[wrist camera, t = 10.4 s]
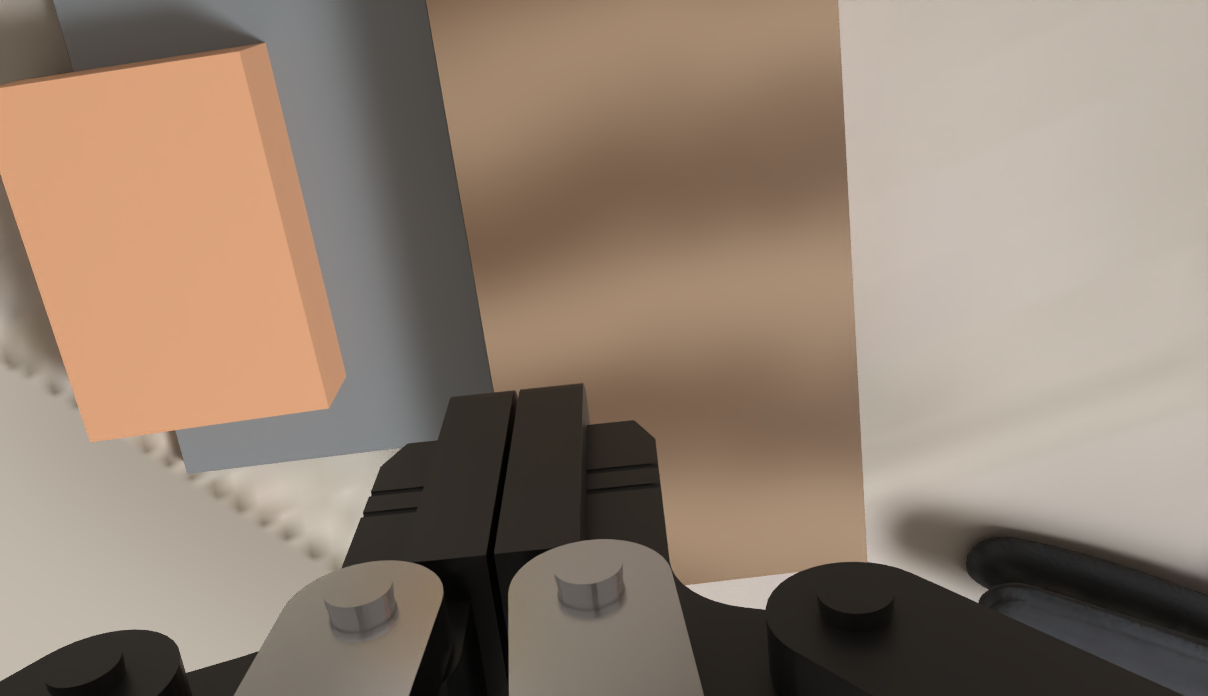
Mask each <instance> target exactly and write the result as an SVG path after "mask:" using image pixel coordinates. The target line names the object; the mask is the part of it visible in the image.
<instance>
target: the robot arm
mask: <svg viewBox="0 0 1208 696" xmlns="http://www.w3.org/2000/svg"><path fill="white" fill-rule="evenodd" d="M363 515H364V517H362V518H361V519H360V522H359V524H358V527H357V530H356V532H355V535H354V537H353V540H352V543H351V545H350V548H349V550H348V553H347V555H346V558H345V561H344V563H343V566H342V568H341V569H339V570H336V571H334V572H331V573H329V574H327V575H325V576H322V577H320V578H319V579H316V580H315V581H313V582H312V583H310V584H309V585H307V586H305V587H304V588H303V589H301V590H300V591H299V592H298V593H296V594H295V595H294V596H293V597H292V598H291V599H290V600H289V601H288V603H287V604H286V606H285V607H284V608H283V610H282V612H281V613H280V615H279V617H278V619H277V620H276V622H275V624H274V626H273V627H272V629H271V631H270V633H269V634H268V636H267V638H266V640H265V641H264V643H263V645H262V647H261V649H260V650H259V651H258V652H255V653H252V654H249V655H246V656H243V657H240V658H236V659H233V660H229V661H226V662H222V663H219V664H216V665H212V666H209V667H205V668H202V669H199V670H195V671H192V672H188V673H186V672H185V669H184V665H183V662H182V659H181V656H180V652H179V648H178V646H177V645H176V644H175V642H174V641H173V640H172V639H170V638H169V637H168V636H166V635H163V634H161V633H158V632H153V631H148V630H121V631H115V632H109V633H104V634H100V635H96V636H92V637H89V638H86V639H83V640H80V641H77V642H74V643H72V644H69V645H67V646H65V647H62V648H60V649H58V650H56V651H54V652H52V653H50V654H48V655H46V656H45V657H43V658H41V659H39V660H38V661H36V662H34V663H32V664H30V665H29V666H27V667H25V668H23V669H22V670H20V671H18V672H16V673H14V674H13V675H11V676H9V677H7V678H6V679H4V680H2V681H0V696H1184V695H1182V694H1180V693H1178V692H1175V691H1173V690H1171V689H1169V688H1166V687H1164V686H1162V685H1160V684H1157V683H1155V682H1153V681H1151V680H1149V679H1146V678H1144V677H1142V676H1140V675H1137V674H1135V673H1133V672H1131V671H1129V670H1126V669H1124V668H1122V667H1120V666H1117V665H1115V664H1113V663H1111V662H1108V661H1106V660H1104V659H1102V658H1100V657H1097V656H1095V655H1093V654H1091V653H1088V652H1086V651H1084V650H1082V649H1079V648H1077V647H1075V646H1073V645H1071V644H1068V643H1066V642H1064V641H1062V640H1059V639H1057V638H1055V637H1053V636H1050V635H1048V634H1046V633H1044V632H1042V631H1039V630H1037V629H1035V628H1033V627H1030V626H1028V625H1026V624H1024V623H1021V622H1019V621H1017V620H1015V619H1013V618H1010V617H1008V616H1006V615H1004V614H1001V613H999V612H997V611H995V610H993V609H990V608H988V607H986V606H984V605H981V604H979V603H977V602H975V601H972V600H970V599H968V598H966V597H964V596H961V595H959V594H957V593H955V592H952V591H950V590H948V589H946V588H943V587H941V586H939V585H937V584H935V583H932V582H930V581H928V580H926V579H923V578H921V577H919V576H917V575H914V574H912V573H910V572H907V571H904V570H902V569H899V568H895V567H891V566H887V565H883V564H876V563H869V562H838V563H830V564H824V565H820V566H815V567H812V568H809V569H806V570H803V571H800V572H798V573H796V574H794V575H793V576H791V577H789V578H787V579H786V580H785V581H783V582H782V583H780V584H779V585H778V587H777V588H776V589H775V590H774V591H773V592H772V594H771V595H770V597H769V599H768V602H767V605H766V610H762V609H753V608H744V607H738V606H731V605H727V604H723V603H719V602H715V601H713V600H710V599H707V598H705V597H702V596H700V595H699V594H697V593H695V592H693V591H691V590H690V589H689V588H687V587H686V586H685V585H683V584H682V583H681V582H680V580H679V579H678V578H677V577H676V576H675V574H674V572H673V570H672V568H671V564H670V559H669V550H668V542H667V533H666V525H665V516H664V508H663V500H662V491H661V483H660V474H659V466H658V457H657V449H656V440H655V438H654V437H653V436H652V435H651V434H649V433H648V432H647V431H646V430H645V429H644V428H643V427H641V426H640V425H639V424H638V423H637V422H636V421H635V420H630V421H620V422H610V423H601V424H591V425H590V419H589V411H588V403H587V396H586V390H585V385H584V383H578V384H568V385H559V386H549V387H539V388H530V389H520V391H519V396H518V395H517V392H516V391H515V390H512V391H502V392H493V393H483V394H473V395H464V396H454V397H451V398H450V400H449V403H448V407H447V410H446V413H445V417H444V420H443V424H442V427H441V430H440V434H439V437H438V440H436V441H426V442H417V443H408V444H406V445H405V446H404V447H403V448H402V449H401V450H399V451H398V452H397V453H396V454H395V455H394V456H393V457H391V458H390V459H389V460H388V461H387V462H386V463H385V464H383V465H382V466H381V467H380V470H379V473H378V475H377V478H376V480H375V483H374V486H373V488H372V491H371V497H369V498H368V501H367V504H366V506H365V509H364V511H363Z"/></svg>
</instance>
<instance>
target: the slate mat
mask: <svg viewBox="0 0 1208 696" xmlns="http://www.w3.org/2000/svg"><path fill="white" fill-rule="evenodd" d="M53 2H54V6H55V9H56V13H57V16H58V20H59V23H60V27H61V30H62V34H63V37H64V41H65V44H66V48H67V52H68V55H69V59H70V62H71V66H72V69H73V72H77V71H83V70H90V69H96V68H103V67H109V66H116V65H122V64H129V63H135V62H142V61H148V60H155V59H161V58H168V57H174V56H181V55H187V54H194V53H200V52H207V51H213V50H220V49H227V48H233V47H240V46H246V45H253V44H259V43H266V47H267V51H268V55H269V59H270V63H271V67H272V71H273V75H274V80H275V84H276V88H277V92H278V96H279V100H280V104H281V108H282V112H283V117H284V121H285V125H286V129H287V133H288V137H289V141H290V145H291V150H292V154H293V158H294V162H295V166H296V170H297V174H298V178H299V183H300V187H301V191H302V195H303V199H304V203H305V207H306V211H307V216H308V220H309V224H310V228H311V232H312V236H313V240H314V244H315V249H316V253H317V257H318V261H319V265H320V269H321V273H322V277H323V281H324V286H325V290H326V294H327V298H328V302H329V306H330V310H331V314H332V319H333V323H334V327H335V331H336V335H337V339H338V343H339V347H340V352H341V356H342V360H343V364H344V368H345V372H346V378H345V380H344V382H343V383H342V385H341V387H340V389H339V391H338V393H337V395H336V396H335V398H334V400H333V402H332V404H331V406H330V407H329V409H322V410H315V411H307V412H300V413H293V414H286V415H279V416H272V417H265V418H258V419H251V420H244V421H237V422H230V423H223V424H215V425H208V426H201V427H194V428H187V429H180V430H175V432H176V435H177V439H178V442H179V446H180V449H181V453H182V456H183V460H184V463H185V467H186V471H187V474H190V473H198V472H206V471H214V470H222V469H231V468H239V467H247V466H255V465H263V464H272V463H280V462H288V461H296V460H304V459H313V458H321V457H329V456H337V455H345V454H353V453H362V452H370V451H378V450H386V449H394V448H403V447H404V446H405V445H406V444H408V443H417V442H426V441H436V440H438V437H439V434H440V430H441V427H442V424H443V420H444V417H445V413H446V410H447V407H448V403H449V400H450V398H451V397H454V396H464V395H473V394H483V393H493V392H494V390H493V384H492V378H491V372H490V367H489V361H488V355H487V349H486V344H485V338H484V332H483V326H482V321H481V315H480V309H479V303H478V298H477V292H476V286H475V280H474V275H473V269H472V263H471V257H470V252H469V246H468V240H467V234H466V229H465V223H464V217H463V211H462V206H461V200H460V194H459V188H458V183H457V177H456V171H455V165H454V159H453V154H452V148H451V142H450V136H449V131H448V125H447V119H446V113H445V108H444V102H443V96H442V90H441V85H440V79H439V73H438V67H437V62H436V56H435V50H434V44H433V39H432V33H431V27H430V21H429V16H428V10H427V4H426V0H53Z"/></svg>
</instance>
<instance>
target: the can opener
mask: <svg viewBox="0 0 1208 696" xmlns="http://www.w3.org/2000/svg"><path fill="white" fill-rule="evenodd" d="M966 565H967V570H968V574H969V575H970V576H971V578H972V579H974V580H975V581H976V582H977V583H979V584H980V585H982V586H984V587H985V588H987V589H989V590H988V591H987V592H985V593H984V594H983V595H982V596H981V598H980V600H979V604H981V605H984V606H986V607H988V608H990V609H993V610H995V611H997V612H999V613H1001V614H1004V615H1006V616H1008V617H1010V618H1013V619H1015V620H1017V621H1019V622H1021V623H1024V624H1026V625H1028V626H1030V627H1033V628H1035V629H1037V630H1039V631H1042V632H1044V633H1046V634H1048V635H1050V636H1053V637H1055V638H1057V639H1059V640H1062V641H1064V642H1066V643H1068V644H1071V645H1073V646H1075V647H1077V648H1079V649H1082V650H1084V651H1086V652H1088V653H1091V654H1093V655H1095V656H1097V657H1100V658H1102V659H1104V660H1106V661H1108V662H1111V663H1113V664H1115V665H1117V666H1120V667H1122V668H1124V669H1126V670H1129V671H1131V672H1133V673H1135V674H1137V675H1140V676H1142V677H1144V678H1146V679H1149V680H1151V681H1153V682H1155V683H1157V684H1160V685H1162V686H1164V687H1166V688H1169V689H1171V690H1173V691H1175V692H1178V693H1180V694H1182V695H1184V696H1208V596H1207V595H1204V594H1201V593H1199V592H1196V591H1193V590H1191V589H1188V588H1185V587H1182V586H1179V585H1177V584H1174V583H1171V582H1168V581H1165V580H1162V579H1160V578H1157V577H1154V576H1151V575H1148V574H1145V573H1142V572H1139V571H1136V570H1133V569H1130V568H1127V567H1124V566H1121V565H1118V564H1115V563H1112V562H1108V561H1105V560H1101V559H1097V558H1094V557H1091V556H1088V555H1084V554H1080V553H1076V552H1073V551H1069V550H1065V549H1061V548H1057V547H1053V546H1049V545H1045V544H1039V543H1035V542H1031V541H1025V540H1021V539H1017V538H1011V537H998V538H991V539H988V540H985V541H983V542H981V543H980V544H978V545H977V546H975V547H974V548H973V549H972V550H971V552H970V553H969V554H968V557H967V563H966Z"/></svg>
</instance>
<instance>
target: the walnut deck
mask: <svg viewBox="0 0 1208 696" xmlns="http://www.w3.org/2000/svg"><path fill="white" fill-rule="evenodd" d="M426 4H427V10H428V16H429V21H430V27H431V33H432V39H433V44H434V50H435V56H436V62H437V67H438V73H439V79H440V85H441V90H442V96H443V102H444V108H445V113H446V119H447V125H448V131H449V136H450V142H451V148H452V154H453V159H454V165H455V171H456V177H457V183H458V188H459V194H460V200H461V206H462V211H463V217H464V223H465V229H466V234H467V240H468V246H469V252H470V257H471V263H472V269H473V275H474V280H475V286H476V292H477V298H478V303H479V309H480V315H481V321H482V326H483V332H484V338H485V344H486V349H487V355H488V361H489V367H490V372H491V378H492V384H493V390H494V392H502V391H512V390H515V391H516V392H517V395H518V396H519V391H520V389H530V388H539V387H549V386H559V385H568V384H578V383H584V385H585V390H586V396H587V403H588V411H589V419H590V425H591V424H601V423H610V422H620V421H630V420H635V421H636V422H637V423H638V424H639V425H640V426H641V427H643V428H644V429H645V430H646V431H647V432H648V433H649V434H651V435H652V436H653V437H654V438H655V440H656V449H657V457H658V466H659V474H660V483H661V491H662V500H663V508H664V516H665V525H666V533H667V542H668V550H669V559H670V564H671V568H672V570H673V572H674V574H675V576H676V577H677V578H678V579H679V580H680V582H681V583H682V584H683V585H690V584H699V583H707V582H716V581H724V580H733V579H741V578H750V577H758V576H767V575H775V574H784V573H792V572H800V571H803V570H806V569H809V568H812V567H815V566H820V565H824V564H830V563H838V562H867V548H866V528H865V509H864V490H863V471H862V451H861V432H860V413H859V394H858V375H857V355H856V336H855V317H854V298H853V278H852V259H851V240H850V221H849V202H848V182H847V163H846V144H845V125H844V105H843V86H842V67H841V48H840V28H839V9H838V0H426Z"/></svg>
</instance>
